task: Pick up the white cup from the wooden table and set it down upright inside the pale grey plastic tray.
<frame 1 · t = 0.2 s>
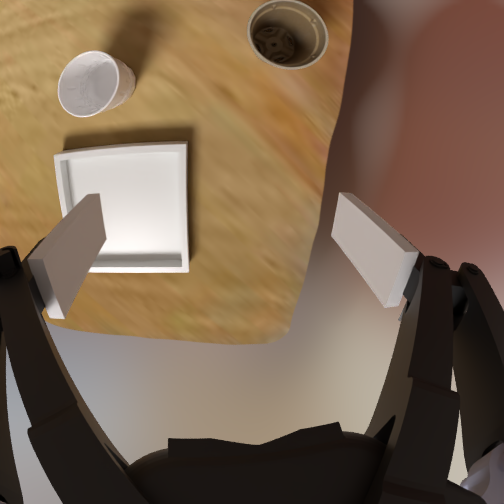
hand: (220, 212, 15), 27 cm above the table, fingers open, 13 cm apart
flower pot: (272, 44, 32), on the table
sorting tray: (124, 207, 41), on the table
white cup: (114, 85, 32), on the table
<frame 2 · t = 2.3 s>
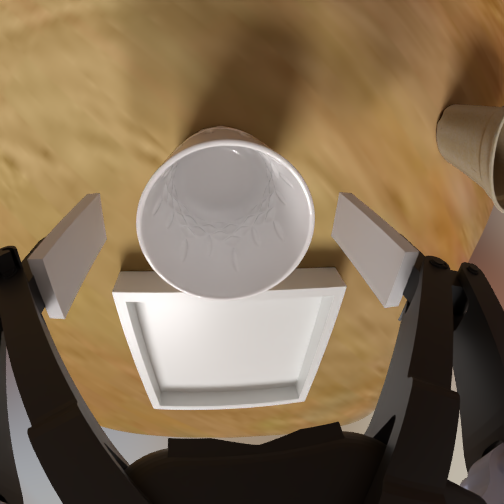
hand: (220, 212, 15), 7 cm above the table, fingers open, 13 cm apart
flower pot: (454, 132, 21), on the table
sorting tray: (228, 344, 31), on the table
white cup: (219, 168, 21), on the table
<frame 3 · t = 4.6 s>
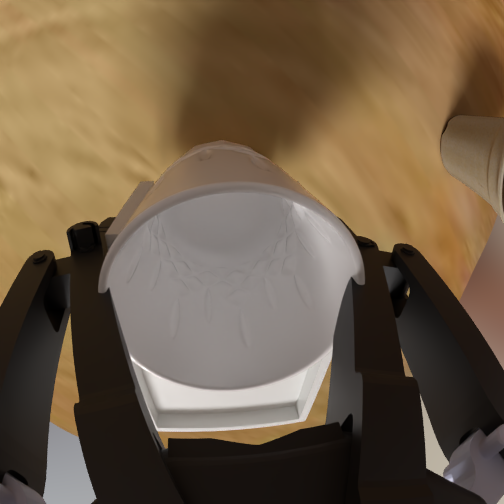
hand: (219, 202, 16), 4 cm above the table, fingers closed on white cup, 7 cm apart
flower pot: (458, 144, 20), on the table
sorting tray: (226, 367, 29), on the table
white cup: (219, 195, 17), point 3 cm above the table, touching gripper
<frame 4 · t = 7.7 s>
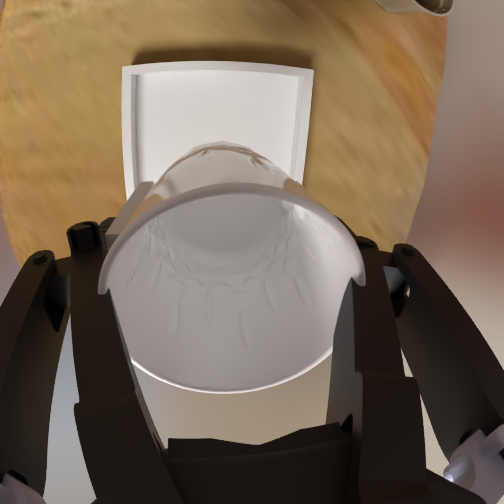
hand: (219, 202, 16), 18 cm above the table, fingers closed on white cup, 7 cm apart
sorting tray: (214, 147, 32), on the table
white cup: (220, 196, 17), point 18 cm above the table, touching gripper
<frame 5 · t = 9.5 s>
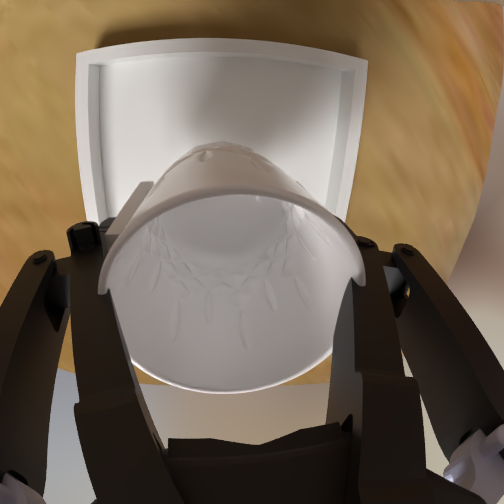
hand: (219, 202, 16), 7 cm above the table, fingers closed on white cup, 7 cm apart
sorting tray: (216, 171, 22), on the table
white cup: (220, 196, 17), point 6 cm above the table, touching gripper
when the fingers open (2 cm above the table, at t = 11.0 s): white cup stays where it is, resting on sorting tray.
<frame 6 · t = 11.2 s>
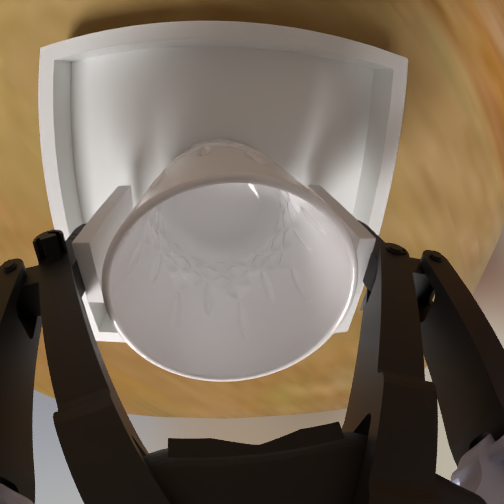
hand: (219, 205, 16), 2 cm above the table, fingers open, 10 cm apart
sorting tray: (218, 193, 18), on the table
white cup: (218, 192, 17), point 1 cm above the table, touching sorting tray
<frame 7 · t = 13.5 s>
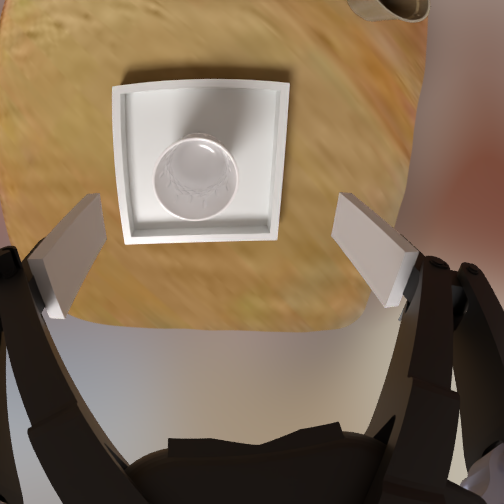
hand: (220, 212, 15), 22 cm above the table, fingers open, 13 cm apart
flower pot: (364, 3, 25), on the table
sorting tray: (199, 159, 34), on the table
white cup: (198, 158, 34), point 1 cm above the table, touching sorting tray
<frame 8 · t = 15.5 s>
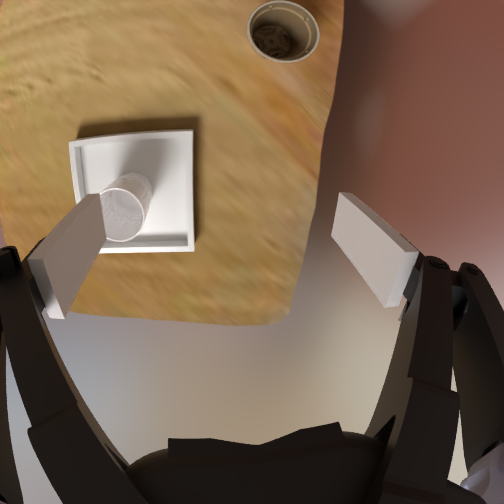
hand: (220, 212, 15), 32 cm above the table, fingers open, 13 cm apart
flower pot: (270, 41, 35), on the table
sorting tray: (134, 191, 45), on the table
white cup: (133, 190, 44), point 1 cm above the table, touching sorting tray
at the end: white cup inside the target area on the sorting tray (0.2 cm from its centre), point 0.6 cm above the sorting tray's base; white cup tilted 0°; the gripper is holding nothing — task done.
